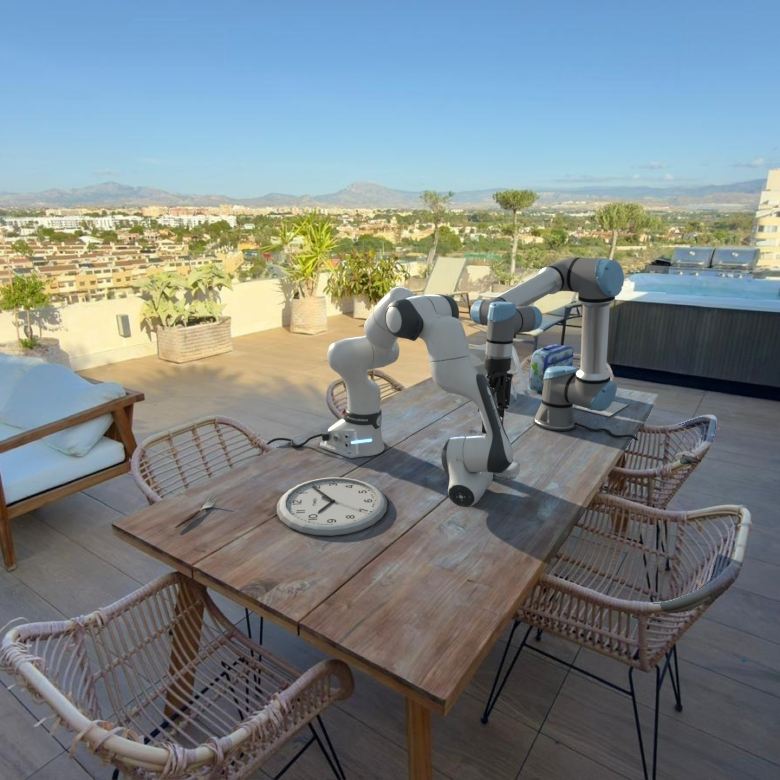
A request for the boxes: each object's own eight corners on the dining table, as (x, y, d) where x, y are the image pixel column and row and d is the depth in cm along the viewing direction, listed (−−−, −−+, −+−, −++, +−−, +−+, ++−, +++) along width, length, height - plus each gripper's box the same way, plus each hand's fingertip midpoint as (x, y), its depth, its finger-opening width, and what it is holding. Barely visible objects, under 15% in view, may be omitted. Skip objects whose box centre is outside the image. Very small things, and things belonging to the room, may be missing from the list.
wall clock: (392, 527, 129) (268, 531, 127) (391, 533, 130) (269, 537, 127) (383, 473, 158) (282, 475, 155) (383, 478, 158) (282, 480, 156)
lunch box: (545, 397, 238) (550, 352, 231) (524, 391, 245) (529, 348, 239) (572, 386, 255) (578, 344, 249) (552, 381, 262) (557, 340, 256)
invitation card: (608, 416, 214) (573, 407, 224) (608, 416, 214) (573, 408, 224) (628, 404, 229) (594, 396, 238) (628, 405, 229) (594, 397, 238)
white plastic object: (461, 429, 252) (437, 405, 227) (444, 352, 274) (420, 323, 250) (535, 404, 240) (518, 377, 215) (510, 326, 262) (492, 293, 237)
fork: (171, 528, 130) (170, 521, 130) (212, 499, 145) (211, 492, 144) (179, 530, 129) (178, 523, 129) (220, 500, 144) (219, 494, 143)
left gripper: (515, 469, 144) (525, 451, 156) (445, 455, 152) (460, 439, 164) (513, 490, 146) (523, 470, 158) (444, 475, 154) (459, 457, 166)
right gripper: (505, 349, 160) (499, 420, 166) (468, 358, 147) (463, 435, 154) (527, 353, 154) (520, 427, 161) (489, 363, 142) (483, 442, 149)
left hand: (490, 454), depth 161 cm, fingers closed on jar, 5 cm apart
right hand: (492, 430), depth 158 cm, fingers closed on lid, 5 cm apart
